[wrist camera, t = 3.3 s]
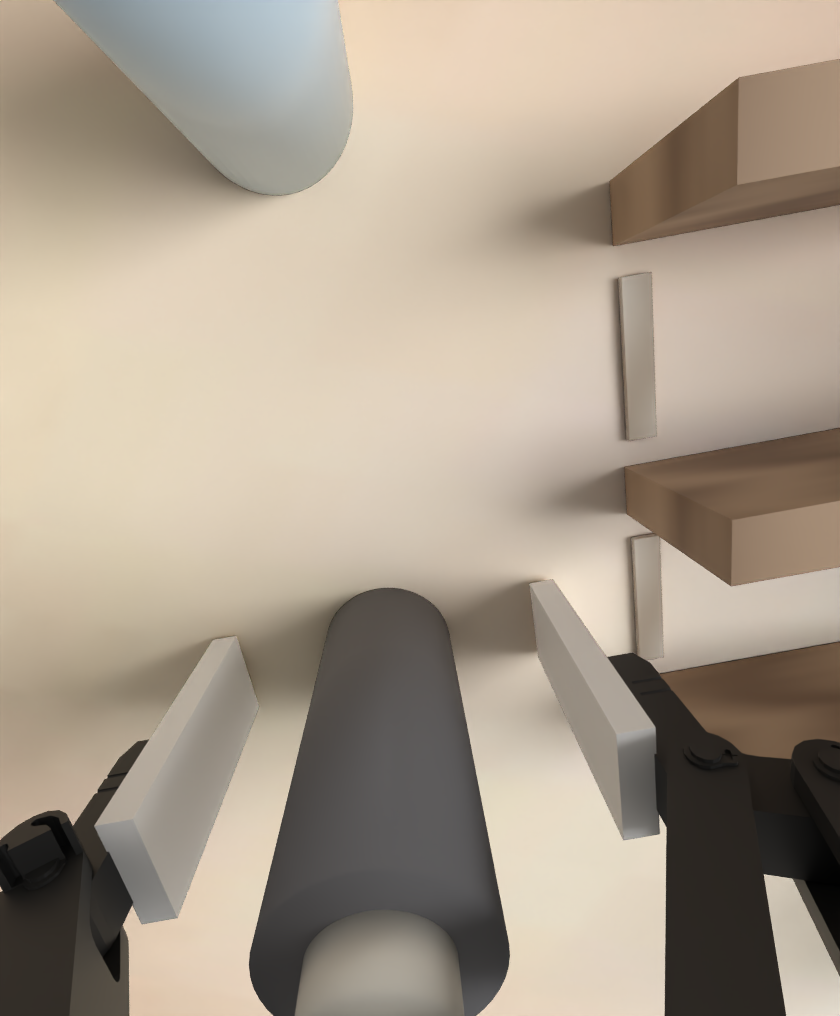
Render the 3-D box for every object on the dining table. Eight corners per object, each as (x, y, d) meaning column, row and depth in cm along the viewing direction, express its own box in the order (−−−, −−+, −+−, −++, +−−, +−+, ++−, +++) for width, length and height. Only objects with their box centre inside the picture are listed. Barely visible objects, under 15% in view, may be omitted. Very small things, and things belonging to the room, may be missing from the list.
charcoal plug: (341, 705, 17) (272, 1158, 7) (313, 600, 16) (188, 980, 6) (458, 684, 17) (539, 1112, 7) (439, 577, 16) (506, 923, 6)
